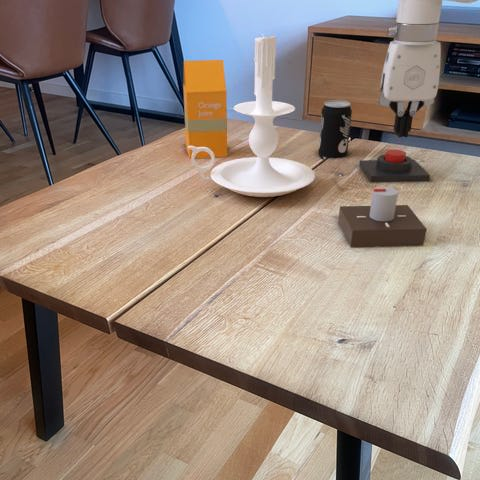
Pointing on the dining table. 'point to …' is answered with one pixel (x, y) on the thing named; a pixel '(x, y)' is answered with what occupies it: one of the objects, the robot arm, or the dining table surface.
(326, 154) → the beverage can
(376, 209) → the warmer dial
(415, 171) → the dark grey device base
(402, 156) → the power button
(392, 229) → the panel
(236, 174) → the candlestick
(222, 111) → the orange juice
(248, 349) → the dining table surface
